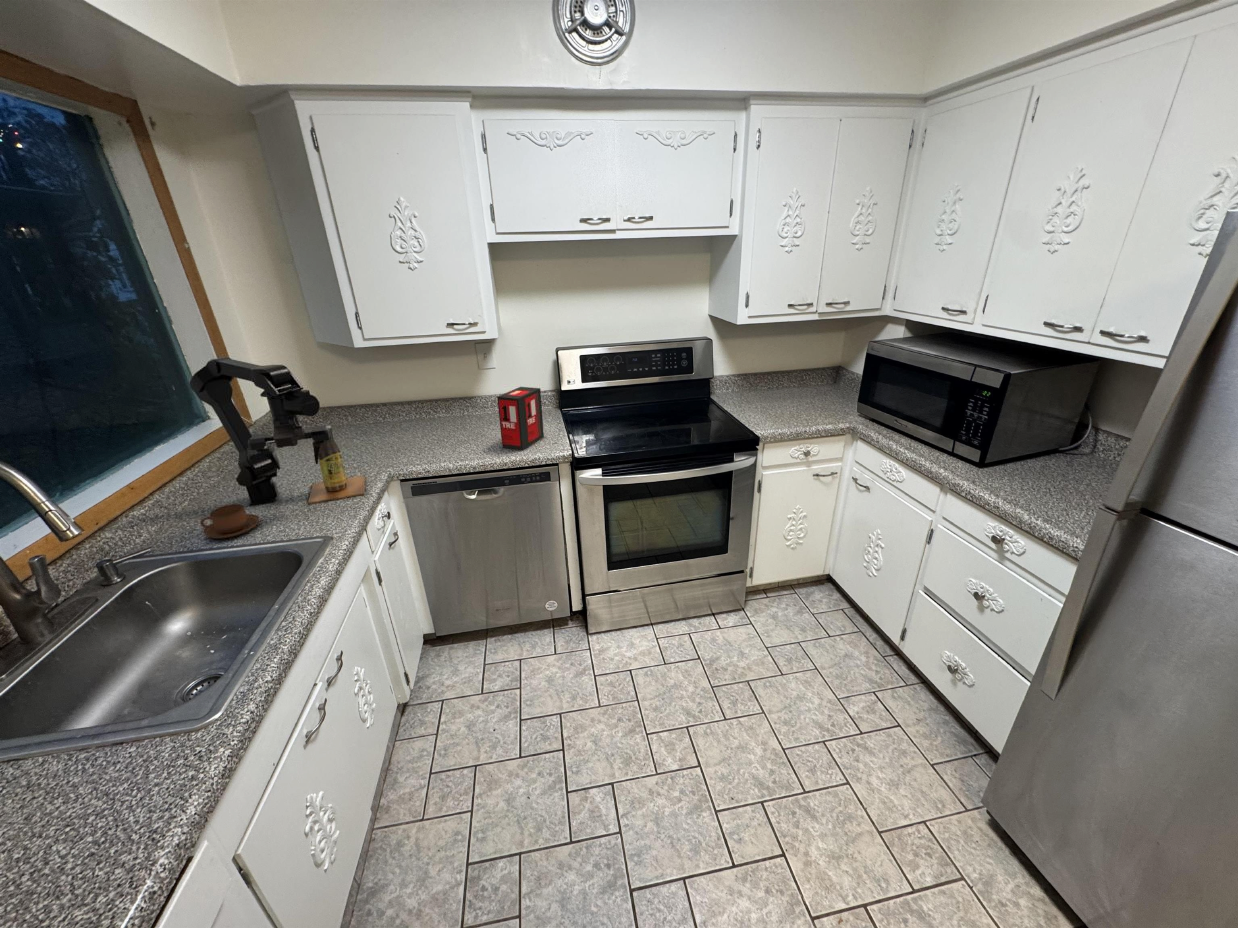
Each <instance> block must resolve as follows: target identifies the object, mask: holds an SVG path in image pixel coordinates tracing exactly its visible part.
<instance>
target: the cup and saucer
mask: <svg viewBox="0 0 1238 928" xmlns="http://www.w3.org/2000/svg"><path fill="white" fill-rule="evenodd" d="M207 520H209V521H210V520H211V522H212V523H210V524H208V525H207V524H205V523H204V522H205V521H207ZM259 522H260V517H259V516H258V515H256V514H253V513H247V512H246V509H245V505H244V504H240V503H232V504H227V505H223V506H220V507H217V508H215V509H213V510H212V511H210V513H209V516H205V517H203V518H201V519H200V522H199V524H200V525H201V527H203V528H204V529H203V534H204V536H206V537H208V538H211V539H227V538H232V537H236V536H240V535H242V534H245V533H246V532H249V531H250V530H252V529H253V528H255V527H256V526H257V525H258V523H259Z"/></svg>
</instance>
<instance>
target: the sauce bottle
mask: <svg viewBox="0 0 1238 928" xmlns="http://www.w3.org/2000/svg"><path fill="white" fill-rule="evenodd" d="M326 426H327V427H328V428H329V430H330V439H329V440H327V441H325V443H323V444H321V445H320V450H319V458H318V464H319V468H320V472H321V476H322V482H323V483H324V486H325V489H326V490H327V491H329V492H332V491H339V490H342V489H344V488H346V486H347V484H346V482H347V481H346V478H347V476H346V472H345V471H346V470H345V467H344V461H343V455H342V452H341V449H340V447H339V445H338V444H337V443H336V441H335V438H334V435H333V427H332V426H331V425H326Z"/></svg>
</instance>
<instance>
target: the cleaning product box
mask: <svg viewBox="0 0 1238 928" xmlns="http://www.w3.org/2000/svg"><path fill="white" fill-rule="evenodd" d="M541 392H542V391H541V388H540V387H529V386H518V387H516V388H514V389H512V390H510V391H507V392H505V393H503V394H500V395H498V396H496V399H497V409H498V419H499V427H500V437H501V448H502V449H507V450H516V451H524V450H526V449H528V448H529V447H531V446H532V445H534V444H535V443H537V442H539V441H540V440H541V439H543V438H545V433H544V432H545V431H544V419H543V405H542V393H541Z"/></svg>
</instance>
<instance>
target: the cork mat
mask: <svg viewBox="0 0 1238 928" xmlns="http://www.w3.org/2000/svg"><path fill="white" fill-rule="evenodd" d="M365 476H366V475H359V476H353V477H346V481H347V482H346V484H347V486H346V488H344V489H342V490H339V491H332V492H329V491H327V490H326V489H325V486H324V483H323V481H322V482H321V481H320V482H315V483H312V486H311V490H310V493H309V499H308V502H307V504H308V505H312V504H318V503H325V502H330V501H336V500H342V499H347V498H353V497H360V496H365V489H366V488H365V486H366V485H365V484H366V477H365Z"/></svg>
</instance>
